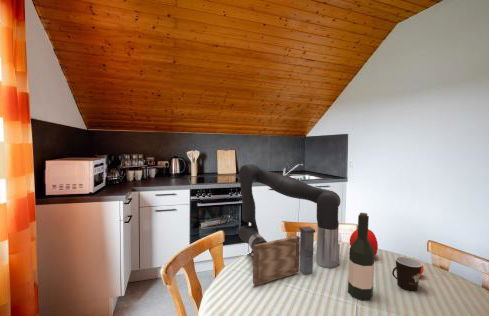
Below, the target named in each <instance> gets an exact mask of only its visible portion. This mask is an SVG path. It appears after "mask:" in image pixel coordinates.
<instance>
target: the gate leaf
mask: <svg viewBox="0 0 489 316" xmlns="http://www.w3.org/2000/svg"><path fill="white" fill-rule="evenodd" d="M252 251H253V257H252V258H253V259H252V284H253V285H255V286H257V285H260V284H264V283H267V282H271V281H275V280H277V279H280V278H283V277H286V276H287V277H289V276H291V275H294V274H297V273H299V272H300V271H299V265H300V235H299V236H298V235H295V236H290V237H285V238H280V239H276V240H271V241H270V240H269V241H267V242H265V243H260V244H256V245H254V246H253V250H252Z"/></svg>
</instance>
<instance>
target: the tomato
mask: <svg viewBox="0 0 489 316" xmlns="http://www.w3.org/2000/svg"><path fill="white" fill-rule="evenodd" d="M357 236H358V228H357V229H356V230H355V229H354V231H353V232H352V233H351V235H350V237H349V245H350V247H351V246H352V244H353V243H354V242H355V240H356V239H357ZM368 240H369V242H370V244H371V246H372V247H373V249H374V251H375V256H376V255H377V254H378V249H379V244H378V240H377V237H376V235H375V233H374V231H373V230H371V229H369V228H368Z"/></svg>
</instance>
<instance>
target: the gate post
mask: <svg viewBox="0 0 489 316" xmlns="http://www.w3.org/2000/svg"><path fill="white" fill-rule="evenodd" d="M298 230H300V231H299V232H300V234H299V237H300V250H299V272H300V273H301V274H302V275H303V276H308V275H313V269H314V265H313V264H314V240H315V239H314V237H315V236H314V235H315V233H316V229H315V228H313V227H311V226H300V227H298Z"/></svg>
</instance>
